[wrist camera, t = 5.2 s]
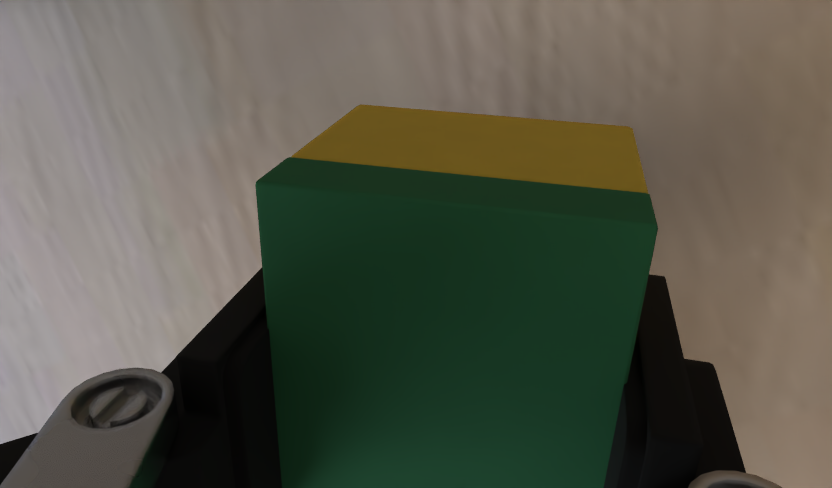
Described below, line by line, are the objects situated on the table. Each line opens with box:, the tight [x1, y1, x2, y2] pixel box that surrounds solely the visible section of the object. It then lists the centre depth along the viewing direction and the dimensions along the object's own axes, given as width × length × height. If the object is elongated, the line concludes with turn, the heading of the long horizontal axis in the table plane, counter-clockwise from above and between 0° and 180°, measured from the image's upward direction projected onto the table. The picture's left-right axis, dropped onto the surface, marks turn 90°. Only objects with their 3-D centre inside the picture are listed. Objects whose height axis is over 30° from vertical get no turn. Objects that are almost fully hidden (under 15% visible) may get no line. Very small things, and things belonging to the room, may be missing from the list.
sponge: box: [256, 105, 658, 488], centre depth 11 cm, size 7×4×4 cm, turn 178°
